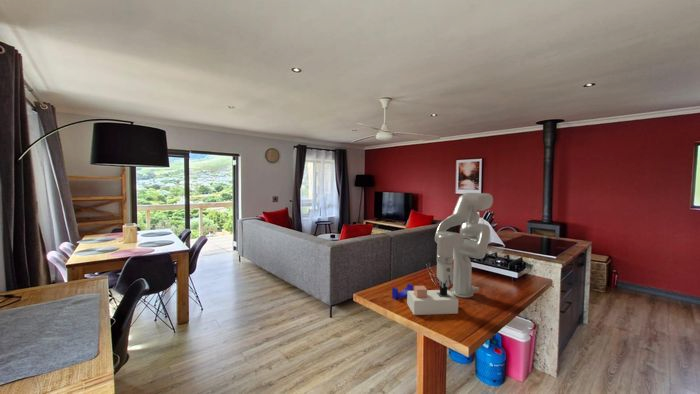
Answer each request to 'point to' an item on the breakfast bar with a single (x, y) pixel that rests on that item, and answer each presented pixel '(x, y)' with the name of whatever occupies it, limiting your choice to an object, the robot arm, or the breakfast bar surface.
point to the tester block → (432, 303)
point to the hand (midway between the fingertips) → (443, 294)
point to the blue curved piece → (401, 294)
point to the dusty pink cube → (420, 291)
